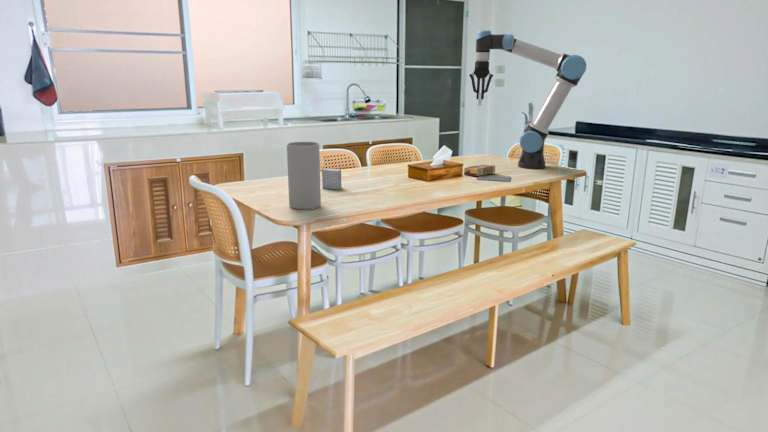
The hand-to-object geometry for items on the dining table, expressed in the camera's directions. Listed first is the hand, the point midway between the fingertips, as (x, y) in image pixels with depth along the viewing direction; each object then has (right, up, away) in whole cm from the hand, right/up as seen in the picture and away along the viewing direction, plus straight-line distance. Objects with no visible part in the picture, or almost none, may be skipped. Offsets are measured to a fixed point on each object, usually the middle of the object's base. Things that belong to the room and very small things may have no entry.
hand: (479, 105), depth 288 cm
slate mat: (+3, -42, -22) cm, 48 cm away
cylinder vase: (-85, -57, -79) cm, 129 cm away
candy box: (-8, -38, -18) cm, 43 cm away
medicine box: (-77, -49, -47) cm, 102 cm away
